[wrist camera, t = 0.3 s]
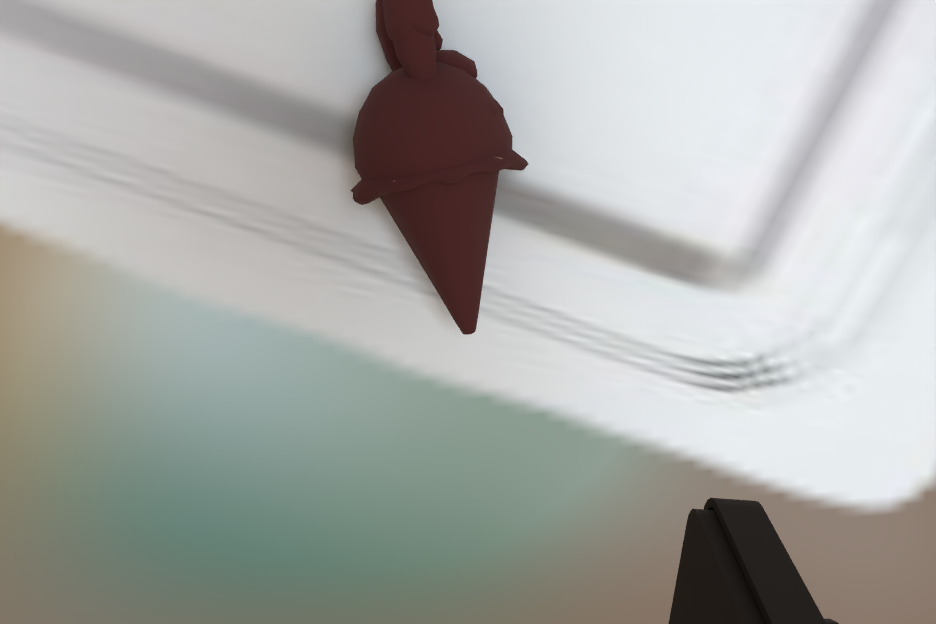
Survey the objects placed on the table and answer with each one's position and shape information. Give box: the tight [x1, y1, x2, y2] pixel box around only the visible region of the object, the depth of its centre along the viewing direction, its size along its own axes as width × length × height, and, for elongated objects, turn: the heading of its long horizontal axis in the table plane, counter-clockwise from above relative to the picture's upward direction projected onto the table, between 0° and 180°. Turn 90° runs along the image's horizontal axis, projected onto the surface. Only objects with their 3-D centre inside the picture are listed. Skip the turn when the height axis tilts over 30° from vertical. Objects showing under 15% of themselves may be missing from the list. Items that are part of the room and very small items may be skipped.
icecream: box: [351, 0, 528, 334], centre depth 36 cm, size 7×7×15 cm
